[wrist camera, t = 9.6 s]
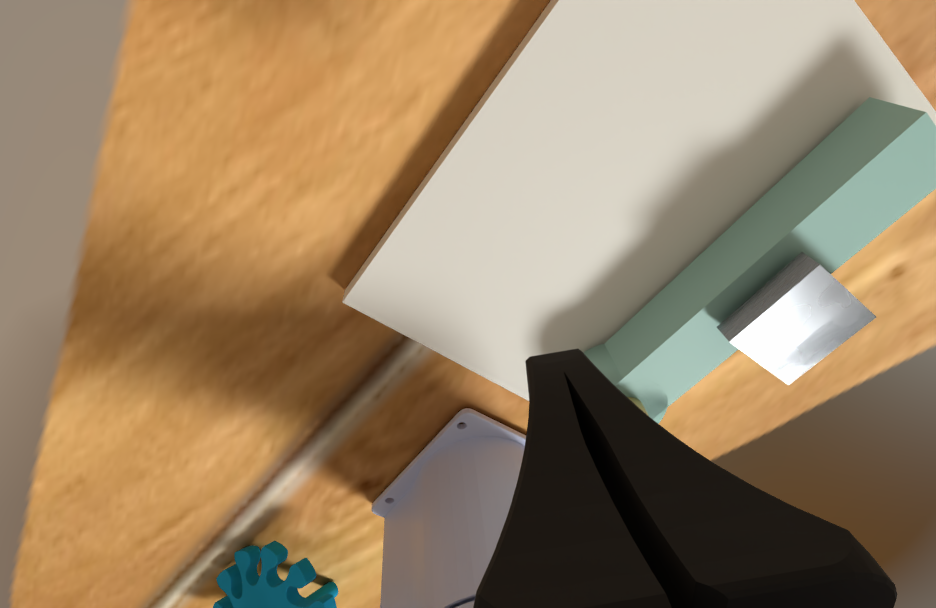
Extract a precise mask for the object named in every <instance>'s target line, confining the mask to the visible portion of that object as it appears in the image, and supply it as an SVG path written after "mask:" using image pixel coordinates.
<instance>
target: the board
mask: <svg viewBox="0 0 936 608" xmlns="http://www.w3.org/2000/svg"><path fill="white" fill-rule="evenodd" d="M869 97H871V98H875V99H879V100H882V101H886V102H890V103H894V104H898V105H901V106H905V107H909V108H913V109H917V110H920V111H924V112H927V114H928V115H929V117H930V118H931V120H932V121H933V122H934V124H935V125H936V111H935V110H934V108H933V107H932V106H931V104H930V103H929V102H928V100H927V99H926V98H925V96H924V95H923V93H922V92H921V91H920V89H919V88H918V87H917V85H916V84H915V83H914V81H913V80H912V78H911V77H910V76H909V74H908V73H907V72H906V70H905V69H904V68H903V66H902V65H901V63H900V62H899V61H898V59H897V58H896V57H895V55H894V54H893V53H892V51H891V50H890V48H889V47H888V46H887V44H886V43H885V42H884V40H883V39H882V38H881V36H880V35H879V33H878V32H877V31H876V29H875V28H874V27H873V25H872V24H871V23H870V21H869V20H868V18H867V17H866V16H865V14H864V13H863V12H862V10H861V9H860V8H859V6H858V5H857V3H856V2H855V1H854V0H551V1H550V2H549V4H548V5H547V6H546V8H545V9H544V11H543V12H542V14H541V15H540V16H539V18H538V19H537V21H536V22H535V23H534V25H533V26H532V28H531V29H530V30H529V32H528V33H527V35H526V36H525V37H524V39H523V40H522V42H521V43H520V44H519V46H518V47H517V49H516V50H515V52H514V53H513V54H512V56H511V57H510V59H509V60H508V61H507V63H506V64H505V66H504V67H503V68H502V70H501V71H500V73H499V74H498V75H497V77H496V78H495V80H494V81H493V82H492V84H491V85H490V87H489V88H488V89H487V91H486V92H485V94H484V95H483V97H482V98H481V99H480V101H479V102H478V104H477V105H476V106H475V108H474V109H473V111H472V112H471V113H470V115H469V116H468V118H467V119H466V120H465V122H464V123H463V125H462V126H461V127H460V129H459V130H458V132H457V133H456V135H455V136H454V137H453V139H452V140H451V142H450V143H449V144H448V146H447V147H446V149H445V150H444V151H443V153H442V154H441V156H440V157H439V158H438V160H437V161H436V163H435V164H434V165H433V167H432V168H431V170H430V171H429V173H428V174H427V175H426V177H425V178H424V180H423V181H422V182H421V184H420V185H419V187H418V188H417V189H416V191H415V192H414V194H413V195H412V196H411V198H410V199H409V201H408V202H407V203H406V205H405V206H404V208H403V209H402V211H401V212H400V213H399V215H398V216H397V218H396V219H395V220H394V222H393V223H392V225H391V226H390V227H389V229H388V230H387V232H386V233H385V234H384V236H383V237H382V239H381V240H380V241H379V243H378V244H377V246H376V247H375V248H374V250H373V251H372V253H371V254H370V256H369V257H368V258H367V260H366V261H365V263H364V264H363V265H362V267H361V268H360V270H359V271H358V272H357V274H356V275H355V277H354V278H353V279H352V281H351V282H350V284H349V285H348V286H347V288H346V289H345V291H344V296H343V301H342V303H344V304H346V305H348V306H350V307H352V308H354V309H356V310H358V311H359V312H361V313H363V314H365V315H367V316H369V317H371V318H373V319H375V320H377V321H378V322H380V323H382V324H384V325H386V326H388V327H390V328H392V329H394V330H395V331H397V332H399V333H401V334H403V335H405V336H407V337H409V338H411V339H413V340H414V341H416V342H418V343H420V344H422V345H424V346H426V347H428V348H430V349H431V350H433V351H435V352H437V353H439V354H441V355H443V356H445V357H447V358H448V359H450V360H452V361H454V362H456V363H458V364H460V365H462V366H464V367H466V368H467V369H469V370H471V371H473V372H475V373H477V374H479V375H481V376H483V377H484V378H486V379H488V380H490V381H492V382H494V383H496V384H498V385H500V386H502V387H503V388H505V389H507V390H509V391H511V392H513V393H515V394H517V395H519V396H520V397H522V398H524V399H526V400H528V401H529V392H528V383H527V373H526V363H525V361H526V360H527V359H528V358H529V357H531V356H536V355H542V354H548V353H554V352H560V351H566V350H572V349H577V348H578V349H579V350H581V351H582V352H583V353H584V352H585V351H587V350H589V349H590V348H593V347H595V346H598V345H601V344H605V343H606V342H607V341H608V340H609V339H610V338H611V337H612V336H613V335H614V334H615V333H616V332H618V331H619V330H620V329H621V328H622V327H623V326H624V325H625V324H626V323H627V322H628V321H629V320H630V319H631V318H633V317H634V316H635V315H636V314H637V313H638V312H639V311H640V310H641V309H642V308H643V307H644V306H645V305H647V304H648V303H649V302H650V301H651V300H652V299H653V298H654V297H655V296H656V295H657V294H658V293H659V292H661V291H662V290H663V289H664V288H665V287H666V286H667V285H668V284H669V283H670V282H671V281H672V280H673V279H675V278H676V277H677V276H678V275H679V274H680V273H681V272H682V271H683V270H684V269H685V268H686V267H687V266H689V265H690V264H691V263H692V262H693V261H694V260H695V259H696V258H697V257H698V256H699V255H700V254H701V253H702V252H704V251H705V250H706V249H707V248H708V247H709V246H710V245H711V244H712V243H713V242H714V241H715V240H716V239H718V238H719V237H720V236H721V235H722V234H723V233H724V232H725V231H726V230H727V229H728V228H729V227H730V226H732V225H733V224H734V223H735V222H736V221H737V220H738V219H739V218H740V217H741V216H742V215H743V214H744V213H746V212H747V211H748V210H749V209H750V208H751V207H752V206H753V205H754V204H755V203H756V202H757V201H758V200H759V199H761V198H762V197H763V196H764V195H765V194H766V193H767V192H768V191H769V190H770V189H771V188H772V187H773V186H775V185H776V184H777V183H778V182H779V181H780V180H781V179H782V178H783V177H784V176H785V175H786V174H787V173H789V172H790V171H791V170H792V169H793V168H794V167H795V166H796V165H797V164H798V163H799V162H800V161H801V160H803V159H804V158H805V157H806V156H807V155H808V154H809V153H810V152H811V151H812V150H813V149H814V148H815V147H817V146H818V145H819V144H820V143H821V142H822V141H823V140H824V139H825V138H826V137H827V136H828V135H829V134H830V133H832V132H833V131H834V130H835V129H836V128H837V127H838V126H839V125H840V124H841V123H842V122H843V121H844V120H846V119H847V118H848V117H849V116H850V115H851V114H852V113H853V112H854V111H855V110H856V109H857V108H858V107H860V106H861V105H862V104H863V103H864V102H865V101H866V100H867V99H868V98H869Z"/></svg>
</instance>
